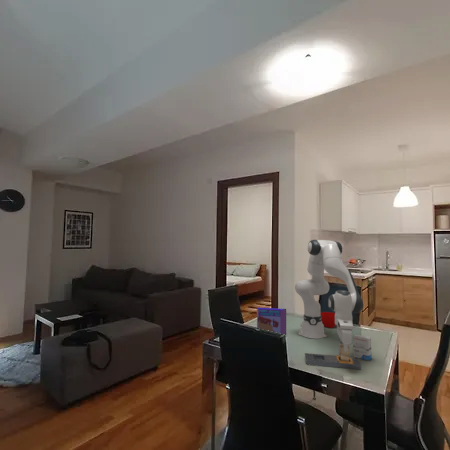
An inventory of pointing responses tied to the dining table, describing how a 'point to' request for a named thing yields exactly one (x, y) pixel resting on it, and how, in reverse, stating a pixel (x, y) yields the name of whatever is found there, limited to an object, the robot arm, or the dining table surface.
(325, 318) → the ceramic cup
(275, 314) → the cereal box
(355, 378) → the dining table surface
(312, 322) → the robot arm
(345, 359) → the peg
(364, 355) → the ink box
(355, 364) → the rail
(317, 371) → the dining table surface
